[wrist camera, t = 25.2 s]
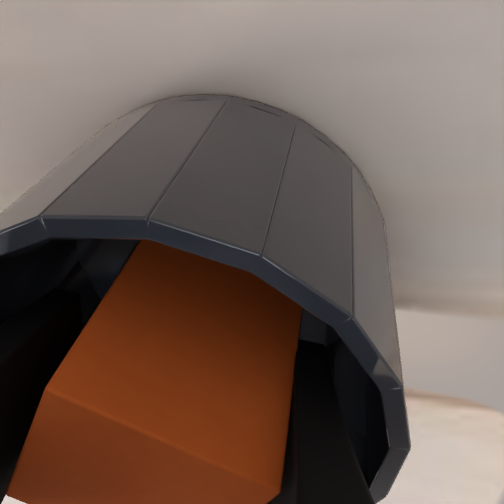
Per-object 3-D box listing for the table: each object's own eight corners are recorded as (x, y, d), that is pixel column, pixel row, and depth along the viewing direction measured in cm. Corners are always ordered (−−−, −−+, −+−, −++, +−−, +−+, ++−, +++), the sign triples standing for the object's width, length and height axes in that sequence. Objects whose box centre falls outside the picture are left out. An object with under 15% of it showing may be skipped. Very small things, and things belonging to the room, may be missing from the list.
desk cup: (88, 337, 17) (-11, 496, 13) (45, 66, 12) (-166, 164, 7) (346, 387, 17) (346, 577, 12) (432, 121, 11) (499, 277, 6)
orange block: (234, 379, 14) (188, 570, 10) (109, 320, 13) (3, 495, 9) (305, 292, 11) (282, 493, 7) (156, 216, 11) (43, 388, 7)
